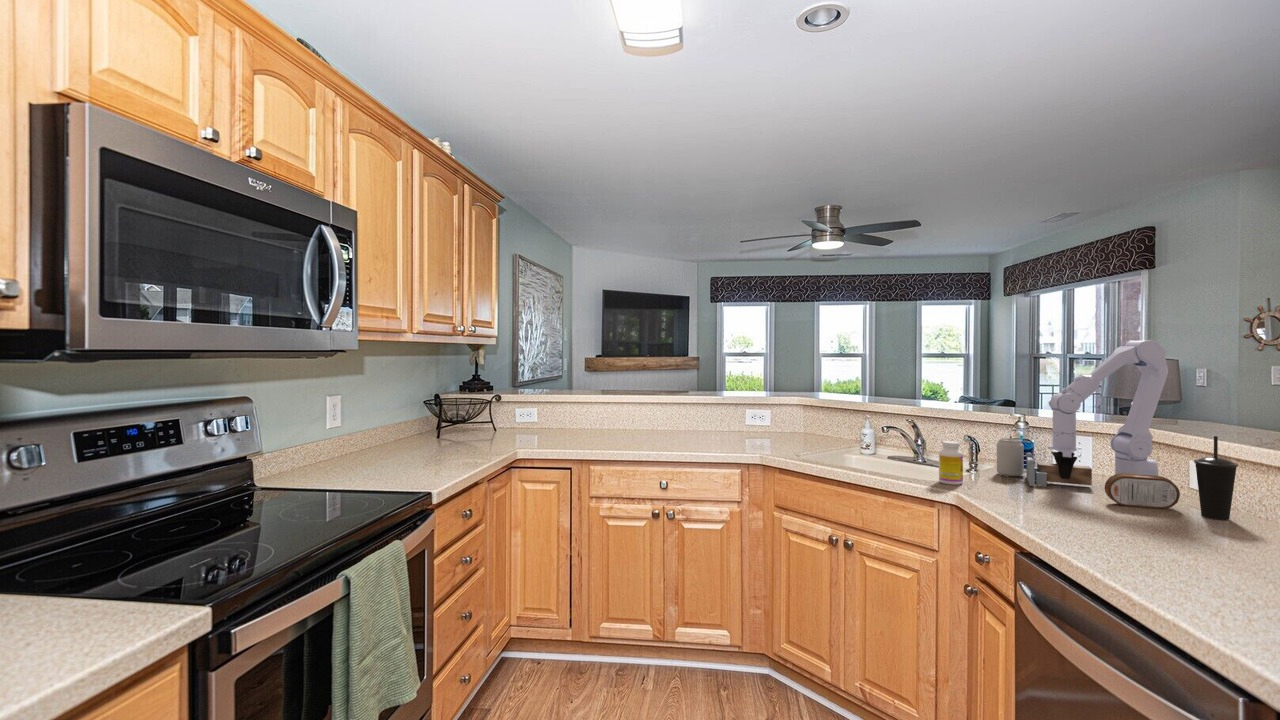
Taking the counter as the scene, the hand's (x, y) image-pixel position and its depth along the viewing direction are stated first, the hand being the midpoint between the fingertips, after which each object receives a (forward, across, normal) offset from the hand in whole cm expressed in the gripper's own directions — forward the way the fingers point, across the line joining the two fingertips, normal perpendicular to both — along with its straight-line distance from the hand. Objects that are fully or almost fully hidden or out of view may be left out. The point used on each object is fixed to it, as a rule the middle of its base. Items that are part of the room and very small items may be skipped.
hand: (1064, 477), depth 173 cm
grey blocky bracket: (+2, 0, -7) cm, 7 cm away
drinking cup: (+3, +23, +28) cm, 36 cm away
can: (+3, -9, -14) cm, 16 cm away
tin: (+3, +19, +14) cm, 24 cm away
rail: (+2, 0, 0) cm, 2 cm away
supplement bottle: (+3, +12, -30) cm, 32 cm away
